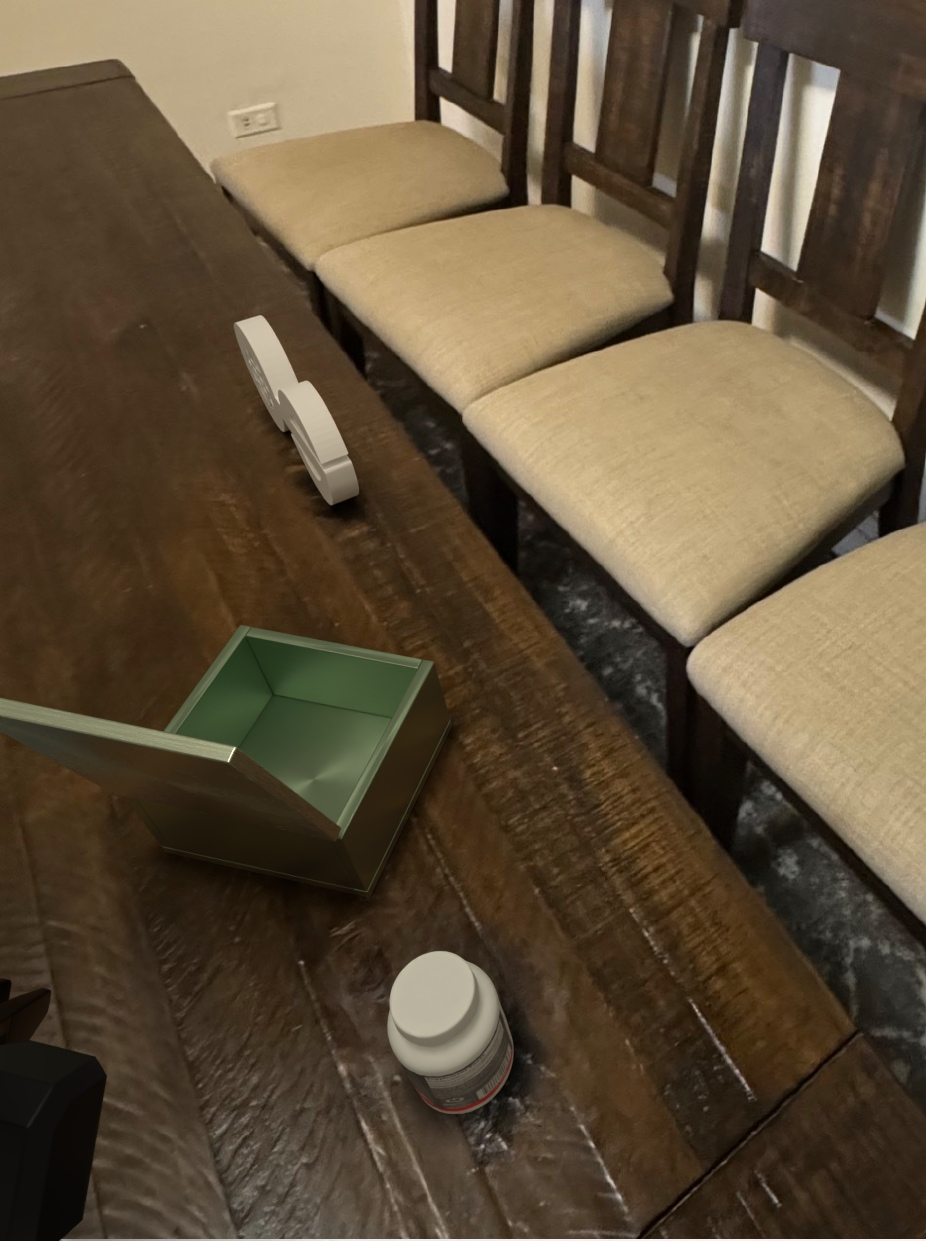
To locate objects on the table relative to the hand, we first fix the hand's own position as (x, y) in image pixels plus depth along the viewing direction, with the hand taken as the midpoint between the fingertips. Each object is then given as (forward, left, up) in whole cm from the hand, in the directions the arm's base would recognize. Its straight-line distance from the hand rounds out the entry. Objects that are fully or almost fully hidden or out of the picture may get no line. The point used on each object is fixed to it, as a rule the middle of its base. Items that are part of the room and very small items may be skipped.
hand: (26, 994), depth 43 cm
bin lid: (+10, +5, +1) cm, 11 cm away
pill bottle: (+11, -12, -14) cm, 21 cm away
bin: (+17, +8, -14) cm, 23 cm away
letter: (+38, +36, -14) cm, 54 cm away
